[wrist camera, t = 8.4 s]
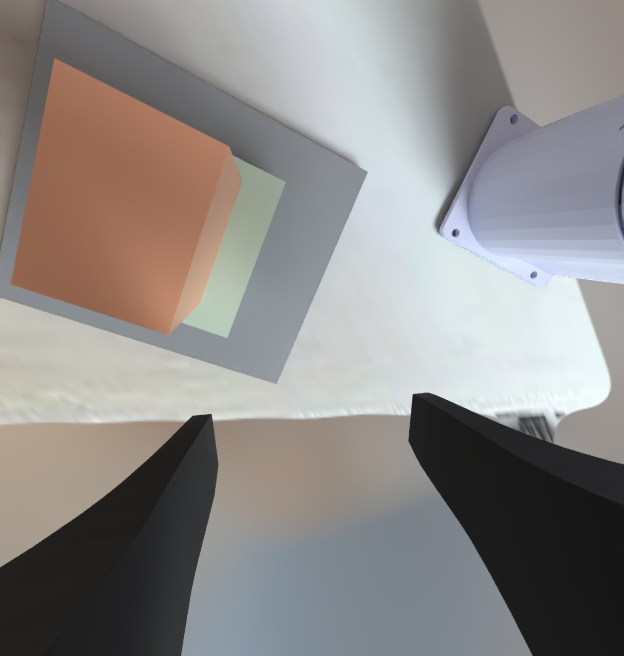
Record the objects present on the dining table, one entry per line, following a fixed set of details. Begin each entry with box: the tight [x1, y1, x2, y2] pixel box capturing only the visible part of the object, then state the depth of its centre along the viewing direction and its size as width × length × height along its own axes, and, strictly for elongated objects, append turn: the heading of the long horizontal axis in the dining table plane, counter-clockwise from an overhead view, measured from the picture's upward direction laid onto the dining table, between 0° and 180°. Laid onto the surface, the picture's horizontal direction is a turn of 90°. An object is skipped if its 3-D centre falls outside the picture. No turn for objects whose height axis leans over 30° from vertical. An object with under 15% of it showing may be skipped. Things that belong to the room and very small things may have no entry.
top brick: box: [11, 58, 242, 335], centre depth 11 cm, size 4×6×5 cm
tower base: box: [0, 0, 368, 384], centre depth 15 cm, size 16×14×4 cm
